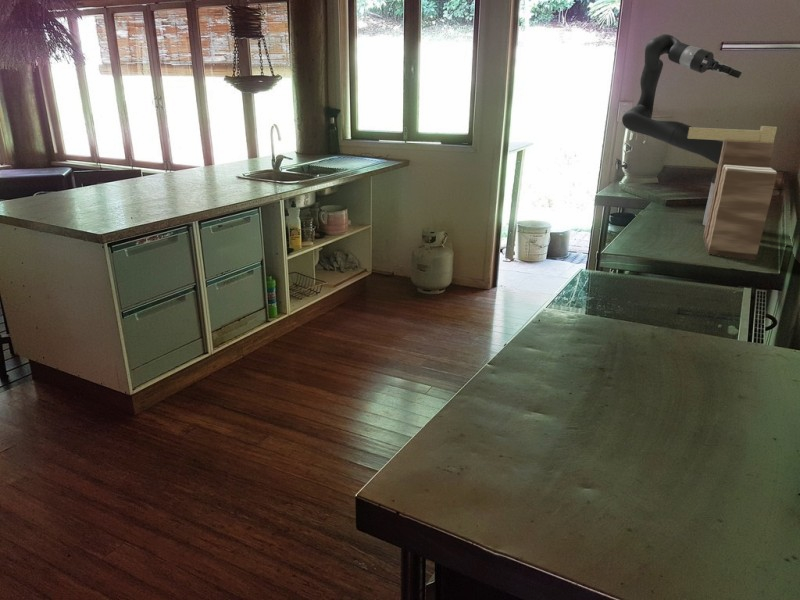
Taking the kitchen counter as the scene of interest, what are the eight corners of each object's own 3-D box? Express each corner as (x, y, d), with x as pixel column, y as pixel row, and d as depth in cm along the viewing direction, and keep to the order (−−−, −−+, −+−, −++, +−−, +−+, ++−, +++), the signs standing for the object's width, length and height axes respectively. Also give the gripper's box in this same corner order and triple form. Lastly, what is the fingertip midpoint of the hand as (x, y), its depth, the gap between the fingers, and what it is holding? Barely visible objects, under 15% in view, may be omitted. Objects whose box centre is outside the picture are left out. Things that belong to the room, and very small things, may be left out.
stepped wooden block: (702, 237, 215) (723, 138, 203) (744, 242, 210) (769, 141, 198) (708, 254, 193) (732, 144, 180) (755, 260, 188) (783, 147, 175)
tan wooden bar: (687, 137, 204) (689, 123, 202) (770, 141, 195) (774, 126, 193) (687, 138, 200) (690, 123, 198) (773, 142, 191) (777, 127, 189)
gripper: (698, 72, 221) (737, 86, 212) (682, 65, 212) (721, 80, 202) (709, 52, 218) (749, 66, 208) (693, 44, 208) (734, 58, 199)
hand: (735, 73), depth 205 cm, fingers open, 8 cm apart
